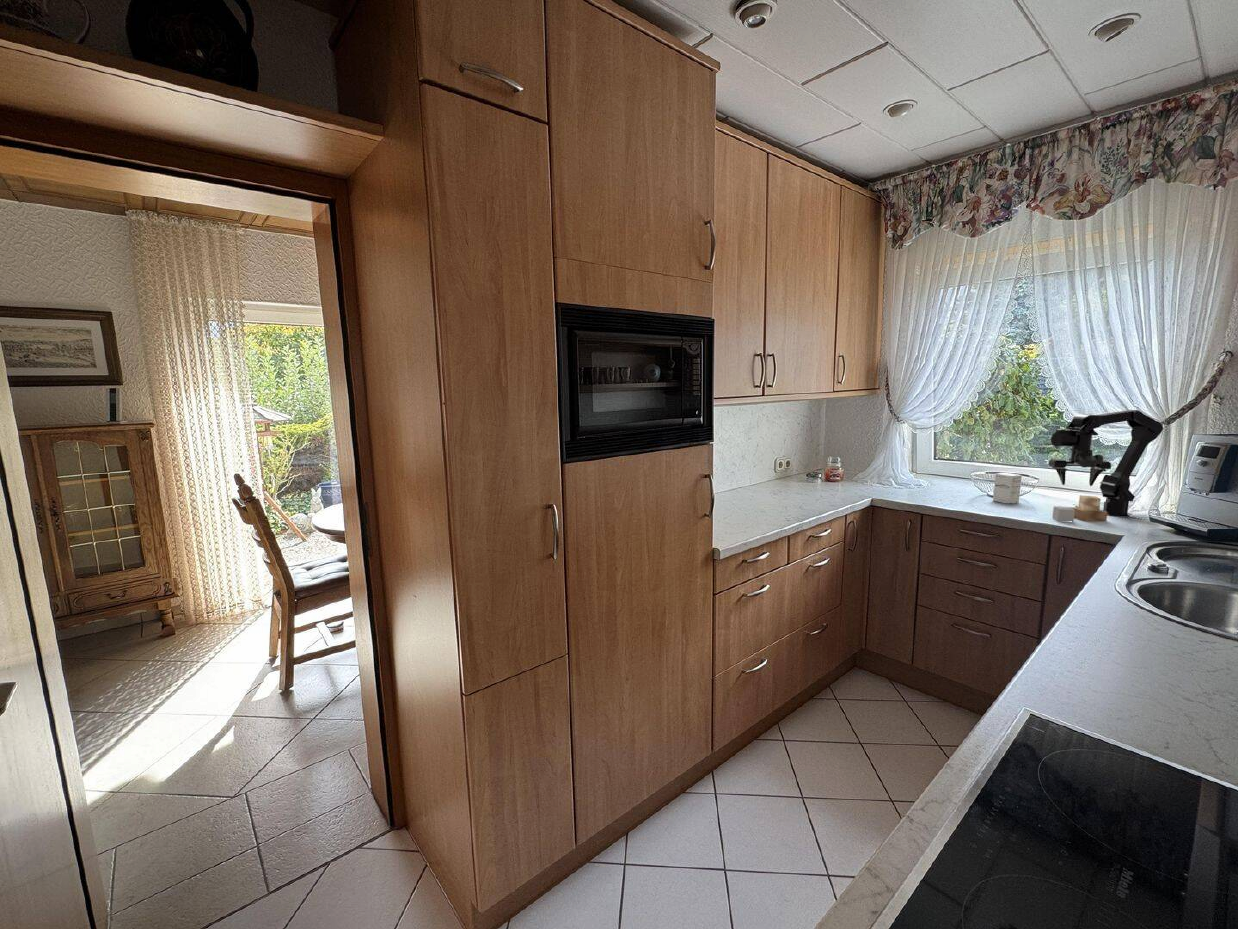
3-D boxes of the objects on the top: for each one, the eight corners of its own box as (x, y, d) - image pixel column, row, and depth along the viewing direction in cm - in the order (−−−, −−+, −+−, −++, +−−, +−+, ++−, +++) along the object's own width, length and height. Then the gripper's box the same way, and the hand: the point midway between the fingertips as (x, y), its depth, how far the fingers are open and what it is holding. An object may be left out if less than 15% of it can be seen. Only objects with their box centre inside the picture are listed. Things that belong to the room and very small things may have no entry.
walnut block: (1089, 517, 222) (1090, 507, 222) (1106, 522, 214) (1107, 511, 214) (1068, 517, 222) (1070, 507, 222) (1085, 522, 214) (1086, 512, 214)
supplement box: (992, 501, 251) (994, 473, 249) (1002, 499, 254) (1004, 472, 252) (1009, 504, 244) (1012, 475, 242) (1019, 502, 247) (1022, 474, 245)
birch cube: (1093, 508, 219) (1095, 496, 218) (1099, 511, 214) (1100, 498, 214) (1078, 507, 221) (1079, 495, 220) (1083, 510, 216) (1084, 497, 216)
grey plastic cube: (1067, 519, 217) (1069, 507, 217) (1073, 522, 213) (1074, 509, 212) (1052, 518, 219) (1053, 506, 218) (1057, 521, 214) (1058, 509, 214)
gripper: (1063, 448, 216) (1058, 487, 218) (1121, 449, 211) (1116, 490, 213) (1050, 445, 227) (1046, 482, 229) (1105, 446, 221) (1100, 485, 224)
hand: (1076, 485), depth 223 cm, fingers open, 9 cm apart
